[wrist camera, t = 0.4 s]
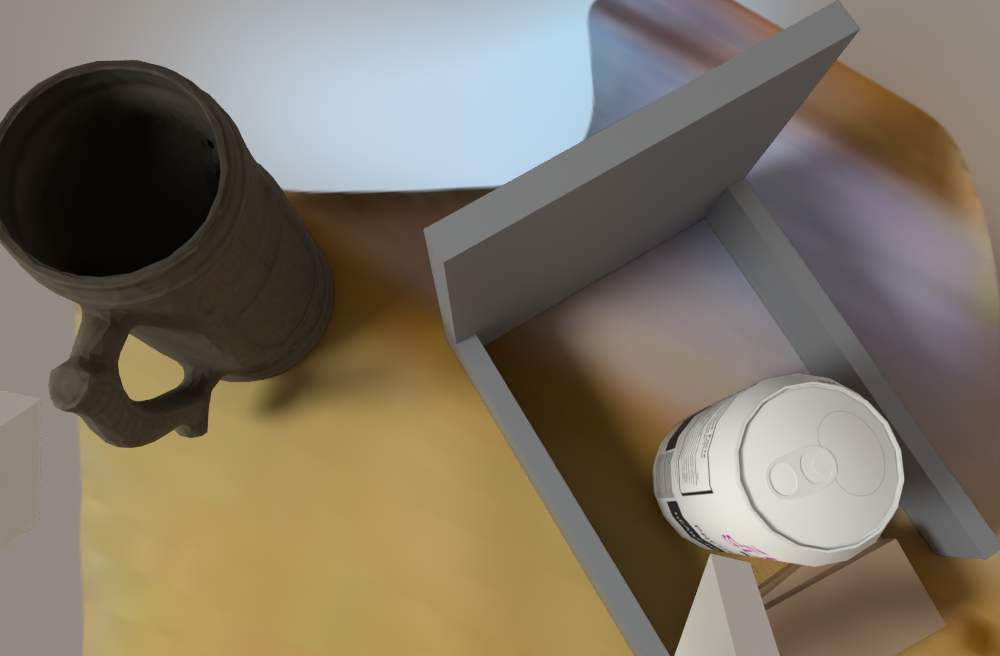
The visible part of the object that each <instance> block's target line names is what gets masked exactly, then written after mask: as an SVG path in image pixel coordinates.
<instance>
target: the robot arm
mask: <svg viewBox="0 0 1000 656" xmlns="http://www.w3.org/2000/svg"><path fill="white" fill-rule="evenodd" d="M40 460H41V399H38V398H34V397H29V396H25V395H20V394H16V393H12V392H7V391H1V392H0V554H1V553H3V552H4V551H5V550H6V549H7V548H8V547H9V546H11V545H12V544H13V543H14V542H15V541H16V540H17V539H18V538H20V537H21V536H22V535H23V534H24V533H25V532H26V531H27V530H29V529H30V528H31V527H32V526H33V525H34V524H35V523H36V522H37V521H39V519H40ZM675 656H780V654H779V651H778V648H777V645H776V642H775V639H774V636H773V633H772V629H771V626H770V623H769V620H768V617H767V614H766V611H765V608H764V605H763V601H762V598H761V595H760V592H759V589H758V586H757V583H756V580H755V577H754V574H753V570H752V567H751V564H750V563H749V562H745V561H741V560H736V559H732V558H728V557H723V556H719V555H715V554H710V556H709V559H708V562H707V565H706V567H705V570H704V573H703V576H702V579H701V582H700V585H699V587H698V590H697V593H696V596H695V599H694V602H693V604H692V607H691V610H690V613H689V616H688V619H687V622H686V624H685V627H684V630H683V633H682V636H681V639H680V642H679V644H678V647H677V650H676V653H675Z"/></svg>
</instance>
